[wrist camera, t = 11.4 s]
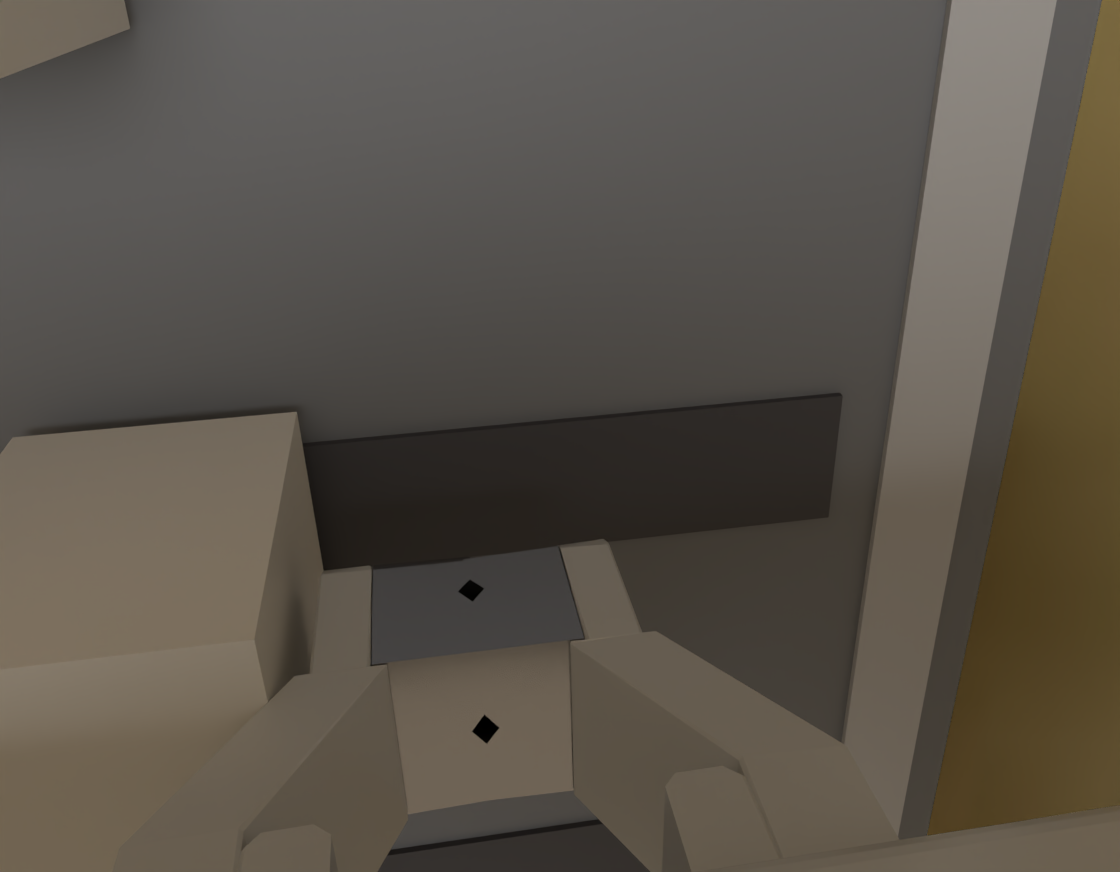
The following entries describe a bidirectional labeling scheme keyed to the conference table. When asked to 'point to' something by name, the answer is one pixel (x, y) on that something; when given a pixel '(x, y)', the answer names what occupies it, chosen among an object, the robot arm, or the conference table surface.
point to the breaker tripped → (141, 619)
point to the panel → (579, 310)
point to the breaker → (54, 28)
